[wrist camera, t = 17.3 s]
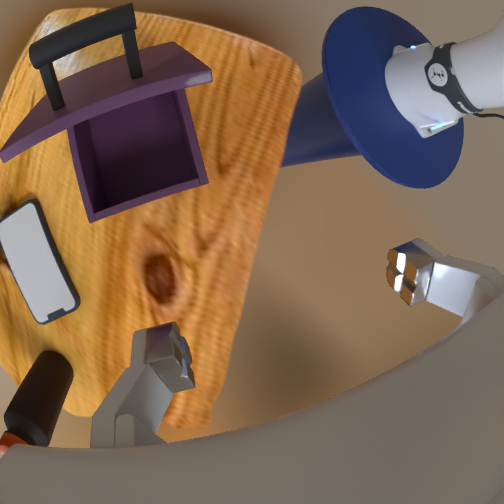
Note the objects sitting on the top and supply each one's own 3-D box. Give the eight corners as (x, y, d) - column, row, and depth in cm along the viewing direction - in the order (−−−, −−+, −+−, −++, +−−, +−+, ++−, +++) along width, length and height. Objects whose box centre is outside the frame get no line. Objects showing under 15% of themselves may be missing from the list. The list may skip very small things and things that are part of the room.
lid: (213, 82, 12) (203, -15, 8) (3, 163, 10) (-32, 84, 6) (174, 47, 22) (168, 1, 17) (60, 87, 19) (48, 43, 15)
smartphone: (-2, 223, 27) (42, 323, 31) (-8, 225, 25) (38, 328, 30) (39, 195, 28) (85, 303, 33) (34, 195, 27) (81, 308, 31)
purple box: (201, 184, 34) (209, 183, 26) (107, 216, 31) (89, 223, 24) (173, 73, 29) (174, 46, 22) (81, 104, 27) (61, 85, 20)
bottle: (39, 375, 32) (-2, 460, 13) (37, 343, 31) (-16, 429, 13) (73, 389, 34) (45, 483, 15) (74, 358, 34) (35, 456, 15)
